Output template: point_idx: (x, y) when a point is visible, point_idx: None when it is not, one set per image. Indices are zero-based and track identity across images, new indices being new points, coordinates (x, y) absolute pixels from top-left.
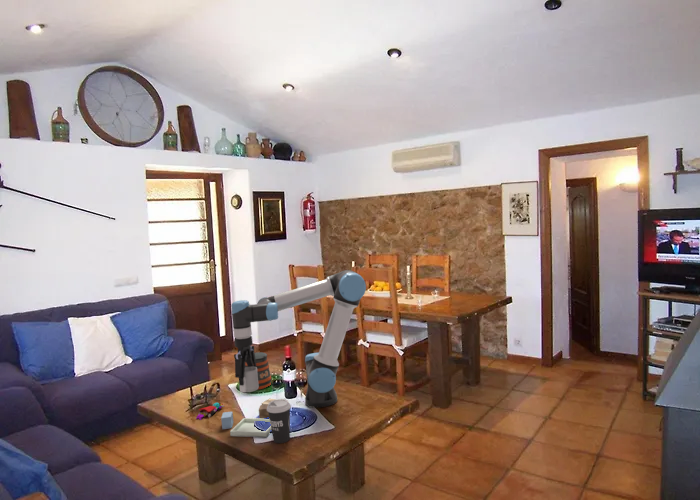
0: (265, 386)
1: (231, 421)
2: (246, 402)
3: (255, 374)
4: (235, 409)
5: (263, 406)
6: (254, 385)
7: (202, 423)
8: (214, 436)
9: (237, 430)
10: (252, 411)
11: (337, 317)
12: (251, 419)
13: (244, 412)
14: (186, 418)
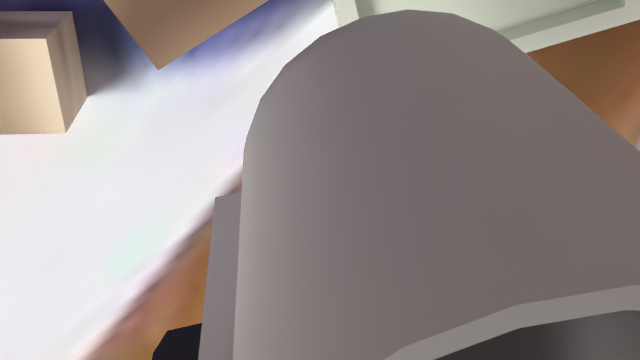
0: None
1: None
2: (27, 333)
3: (543, 163)
4: (175, 315)
5: (171, 7)
6: (496, 46)
7: None
8: (633, 127)
9: (540, 8)
10: (138, 174)
11: None
12: (356, 11)
13: (187, 220)
14: None
